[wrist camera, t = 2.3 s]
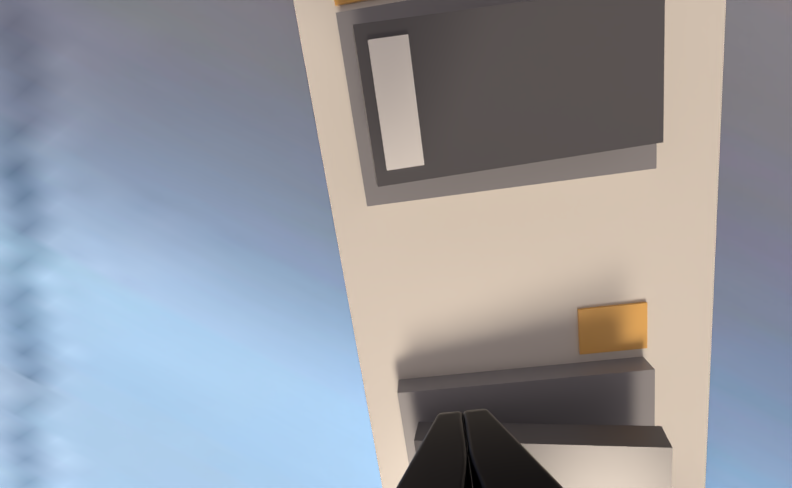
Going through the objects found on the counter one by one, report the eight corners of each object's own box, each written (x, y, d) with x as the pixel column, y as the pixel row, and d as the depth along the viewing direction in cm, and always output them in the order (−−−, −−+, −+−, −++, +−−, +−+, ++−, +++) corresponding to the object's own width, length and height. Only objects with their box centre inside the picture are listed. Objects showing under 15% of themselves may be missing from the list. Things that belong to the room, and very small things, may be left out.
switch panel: (692, -171, 14) (759, -242, 11) (677, 484, 21) (717, 542, 18) (290, -91, 15) (260, -138, 12) (395, 503, 22) (391, 560, 19)
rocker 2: (661, 425, 15) (674, 450, 14) (660, 524, 16) (671, 554, 15) (418, 421, 16) (413, 442, 15) (431, 509, 18) (427, 534, 16)
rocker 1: (640, -7, 12) (667, -19, 11) (640, 141, 13) (665, 142, 12) (352, 33, 12) (352, 23, 11) (375, 182, 13) (378, 187, 12)
